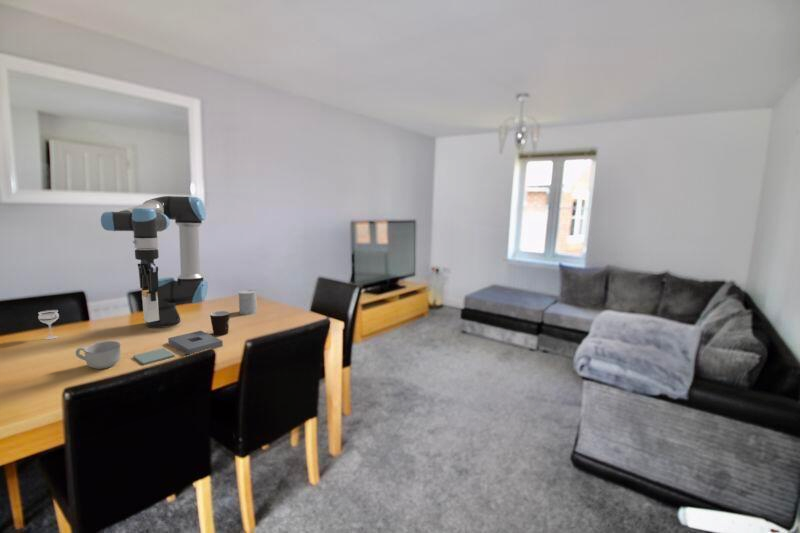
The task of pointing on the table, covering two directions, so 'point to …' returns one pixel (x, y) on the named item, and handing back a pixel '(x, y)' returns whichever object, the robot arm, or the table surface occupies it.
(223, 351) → the table surface
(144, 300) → the white tall block
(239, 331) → the table surface
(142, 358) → the pad
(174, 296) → the robot arm
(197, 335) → the grey flat block
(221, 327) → the coffee mug
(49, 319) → the wineglass
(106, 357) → the teacup
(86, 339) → the table surface
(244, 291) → the grey canister
